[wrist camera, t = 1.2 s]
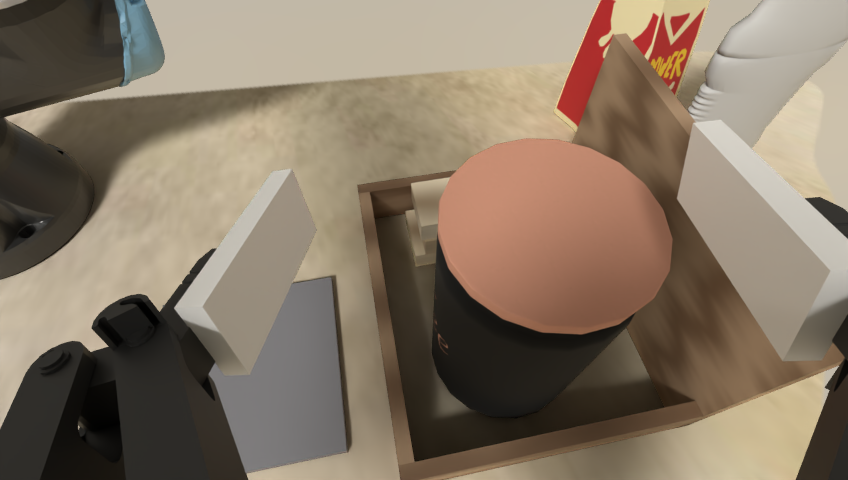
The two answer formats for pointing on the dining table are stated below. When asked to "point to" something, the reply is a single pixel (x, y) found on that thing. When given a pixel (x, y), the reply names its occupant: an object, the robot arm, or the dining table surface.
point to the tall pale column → (768, 62)
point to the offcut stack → (425, 219)
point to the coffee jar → (539, 270)
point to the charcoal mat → (290, 386)
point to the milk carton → (649, 30)
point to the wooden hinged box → (652, 324)
